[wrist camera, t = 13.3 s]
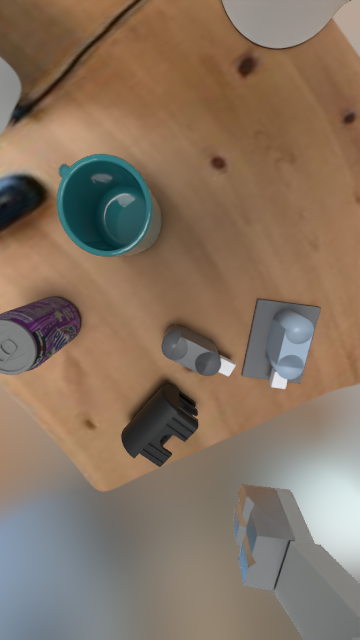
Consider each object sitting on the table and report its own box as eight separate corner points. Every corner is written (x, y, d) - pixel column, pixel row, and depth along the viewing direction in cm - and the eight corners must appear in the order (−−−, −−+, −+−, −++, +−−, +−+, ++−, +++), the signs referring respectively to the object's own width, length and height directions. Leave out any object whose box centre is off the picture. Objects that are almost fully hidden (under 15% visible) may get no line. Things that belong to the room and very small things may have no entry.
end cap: (164, 375, 42) (160, 398, 35) (198, 401, 43) (201, 428, 36) (126, 417, 44) (116, 447, 37) (160, 441, 45) (155, 474, 38)
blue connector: (275, 307, 38) (289, 315, 33) (300, 310, 38) (316, 319, 33) (260, 376, 41) (270, 393, 36) (282, 379, 41) (295, 396, 36)
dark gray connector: (160, 340, 40) (157, 352, 35) (171, 320, 39) (168, 330, 34) (223, 371, 41) (228, 387, 36) (234, 352, 40) (241, 366, 36)
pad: (257, 298, 38) (258, 299, 38) (318, 306, 38) (320, 307, 38) (241, 374, 41) (242, 376, 41) (298, 381, 41) (300, 383, 41)
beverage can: (57, 350, 41) (6, 390, 29) (25, 314, 39) (-42, 341, 28) (92, 324, 40) (53, 355, 28) (59, 286, 38) (5, 302, 27)
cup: (102, 151, 34) (63, 104, 23) (175, 215, 36) (171, 200, 25) (64, 210, 36) (11, 193, 25) (135, 268, 37) (114, 275, 27)
